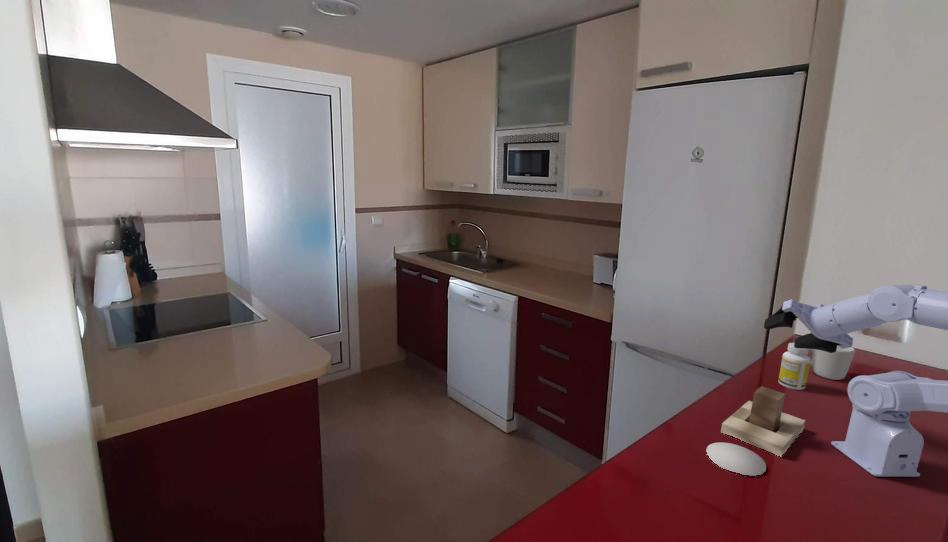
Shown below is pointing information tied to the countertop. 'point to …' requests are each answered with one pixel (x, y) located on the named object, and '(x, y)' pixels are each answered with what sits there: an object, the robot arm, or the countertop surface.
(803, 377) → the supplement bottle
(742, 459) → the coaster
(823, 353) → the cup
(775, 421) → the plug peg
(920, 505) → the countertop surface
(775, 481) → the countertop surface
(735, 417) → the holder block
